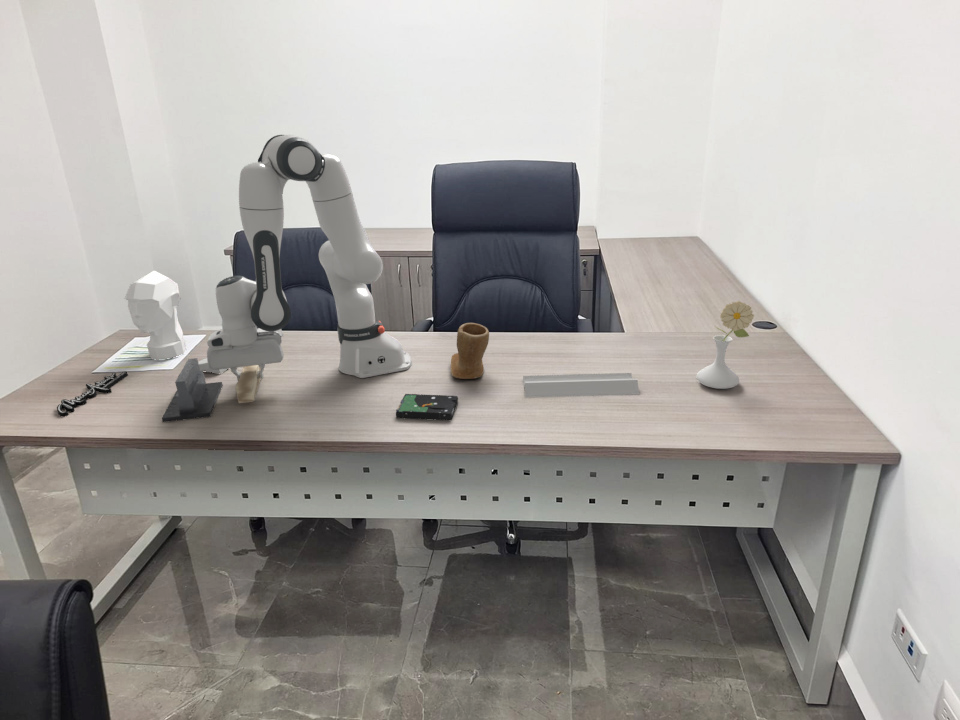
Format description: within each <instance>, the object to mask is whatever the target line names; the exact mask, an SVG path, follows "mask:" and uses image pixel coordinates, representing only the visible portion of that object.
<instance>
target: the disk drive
mask: <svg viewBox="0 0 960 720" xmlns="http://www.w3.org/2000/svg"><path fill="white" fill-rule="evenodd" d="M458 404H459V397H458V395H450V394H449V395H447V394H442V395H441V394H419V393H418V394H416V393H405V394H404V396H403V397H402V399H401V400H400V404H399V405H398V407H397V408H396V411H395V418H396V419H404V418H405V420H406V419H409V420H427V419H433V420H432V421H449V420H451V421H452V419H453V417H454V414H455V412H456V410H457V406H458ZM434 419H436V420H434Z"/></svg>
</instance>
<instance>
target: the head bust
mask: <svg viewBox="0 0 960 720" xmlns="http://www.w3.org/2000/svg"><path fill="white" fill-rule="evenodd" d="M179 289H180V288H179V283H177V282H176V281H174V280H173V279H171V278H170V277H168V276H166V275H164V274H162V273H161V272H158V271H156V270H152V271H151V272H148V273H147V274H145V275H143V276H142V277H140V278H139V279H136V280H135V281H133V282H132V283H130V284H129V286H128V289H127V291H126V294H125V297H124V299H125V300H126V301H127V308H128V311H129V314H130V317H131V320H132V324H133V325H134V326H136V328H138V330H139V332H140V333H142V334H145V333H149V334H150V335H149V336H150V337H149V340H148V342H147V343H146V346H147V350H148V354H149V357H150V359H152V360H153V359H156V360H155V361H157V360H159V359H167V358H172V357H176V356H179V355H181V354H183V353H184V352H185V350H186V351H187V346H186V341H185V337H184V331H183V329H182V326H181V324H180V322H179V320H178V311H177V310H178V309H177V308H178V307H179V305H180V302H181V300H182V298H181V296H180V290H179ZM185 353H186V352H185ZM185 353H184V354H185ZM184 354H183V355H184ZM181 356H182V355H181ZM179 357H180V356H179ZM172 359H173V358H172Z"/></svg>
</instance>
